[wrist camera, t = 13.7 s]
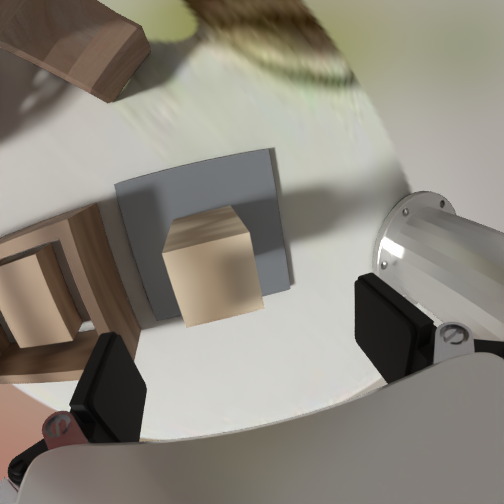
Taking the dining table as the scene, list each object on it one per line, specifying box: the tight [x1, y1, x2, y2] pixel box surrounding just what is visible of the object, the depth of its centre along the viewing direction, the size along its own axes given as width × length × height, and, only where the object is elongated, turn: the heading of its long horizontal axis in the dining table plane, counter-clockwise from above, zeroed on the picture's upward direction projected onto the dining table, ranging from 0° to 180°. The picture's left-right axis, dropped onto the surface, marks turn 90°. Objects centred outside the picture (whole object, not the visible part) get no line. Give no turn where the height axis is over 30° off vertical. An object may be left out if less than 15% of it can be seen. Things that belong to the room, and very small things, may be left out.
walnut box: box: [0, 203, 141, 384], centre depth 19 cm, size 18×12×6 cm, turn 101°
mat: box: [114, 149, 290, 321], centre depth 23 cm, size 12×12×1 cm
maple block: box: [162, 205, 264, 328], centre depth 19 cm, size 4×4×8 cm
